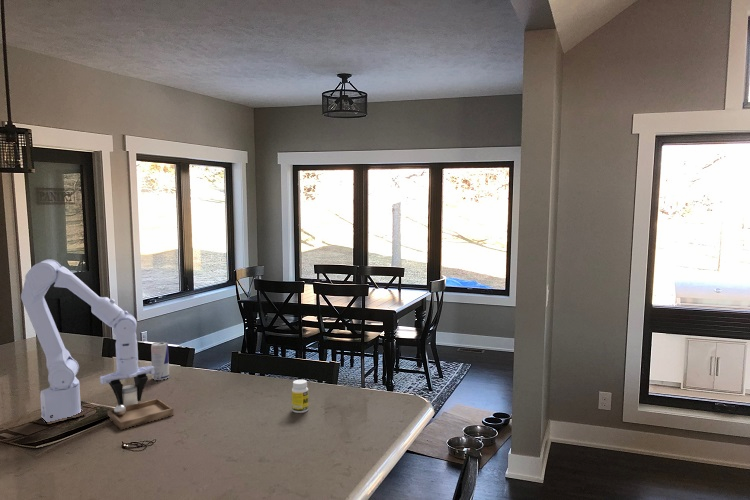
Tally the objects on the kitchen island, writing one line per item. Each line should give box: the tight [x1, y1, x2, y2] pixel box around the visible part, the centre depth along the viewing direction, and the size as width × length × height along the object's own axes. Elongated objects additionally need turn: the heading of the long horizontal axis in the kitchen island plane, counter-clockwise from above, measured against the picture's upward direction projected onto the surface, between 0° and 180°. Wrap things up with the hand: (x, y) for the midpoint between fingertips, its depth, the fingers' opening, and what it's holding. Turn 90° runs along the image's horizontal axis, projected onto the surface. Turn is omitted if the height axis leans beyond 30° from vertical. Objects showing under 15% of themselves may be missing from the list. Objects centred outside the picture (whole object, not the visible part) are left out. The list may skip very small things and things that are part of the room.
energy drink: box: [150, 341, 170, 381], centre depth 183 cm, size 5×5×12 cm
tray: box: [107, 398, 175, 431], centre depth 151 cm, size 14×11×2 cm
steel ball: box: [113, 404, 126, 416], centre depth 150 cm, size 3×3×3 cm
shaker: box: [122, 384, 139, 407], centre depth 157 cm, size 5×5×6 cm
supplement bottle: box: [291, 379, 310, 414], centre depth 154 cm, size 5×5×8 cm
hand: (129, 402), depth 157 cm, fingers closed on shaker, 4 cm apart
